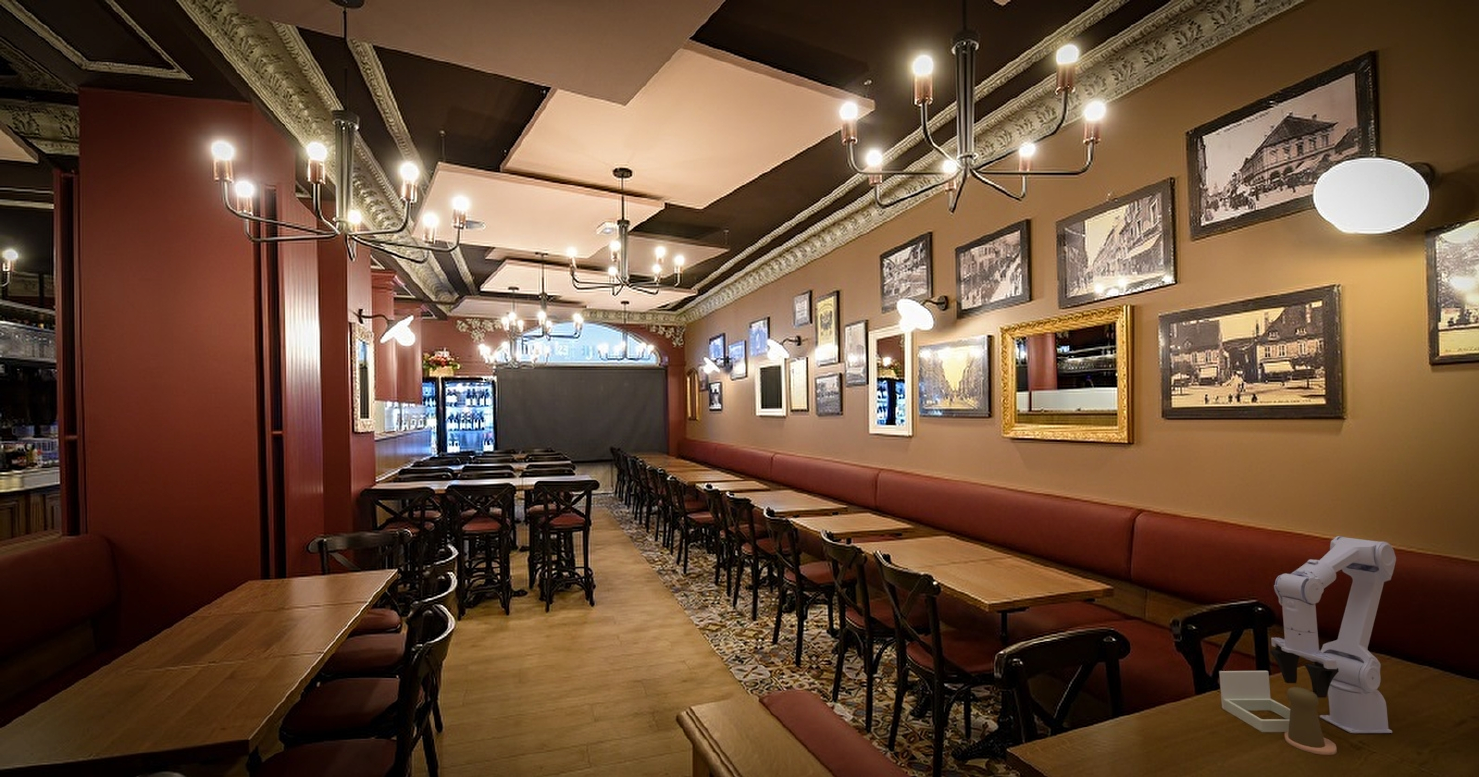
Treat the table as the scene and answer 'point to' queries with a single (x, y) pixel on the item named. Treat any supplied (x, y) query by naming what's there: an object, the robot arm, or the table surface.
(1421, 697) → the table surface
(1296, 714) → the brown tapered cylinder
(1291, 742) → the peach flat disc
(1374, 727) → the robot arm
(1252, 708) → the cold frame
